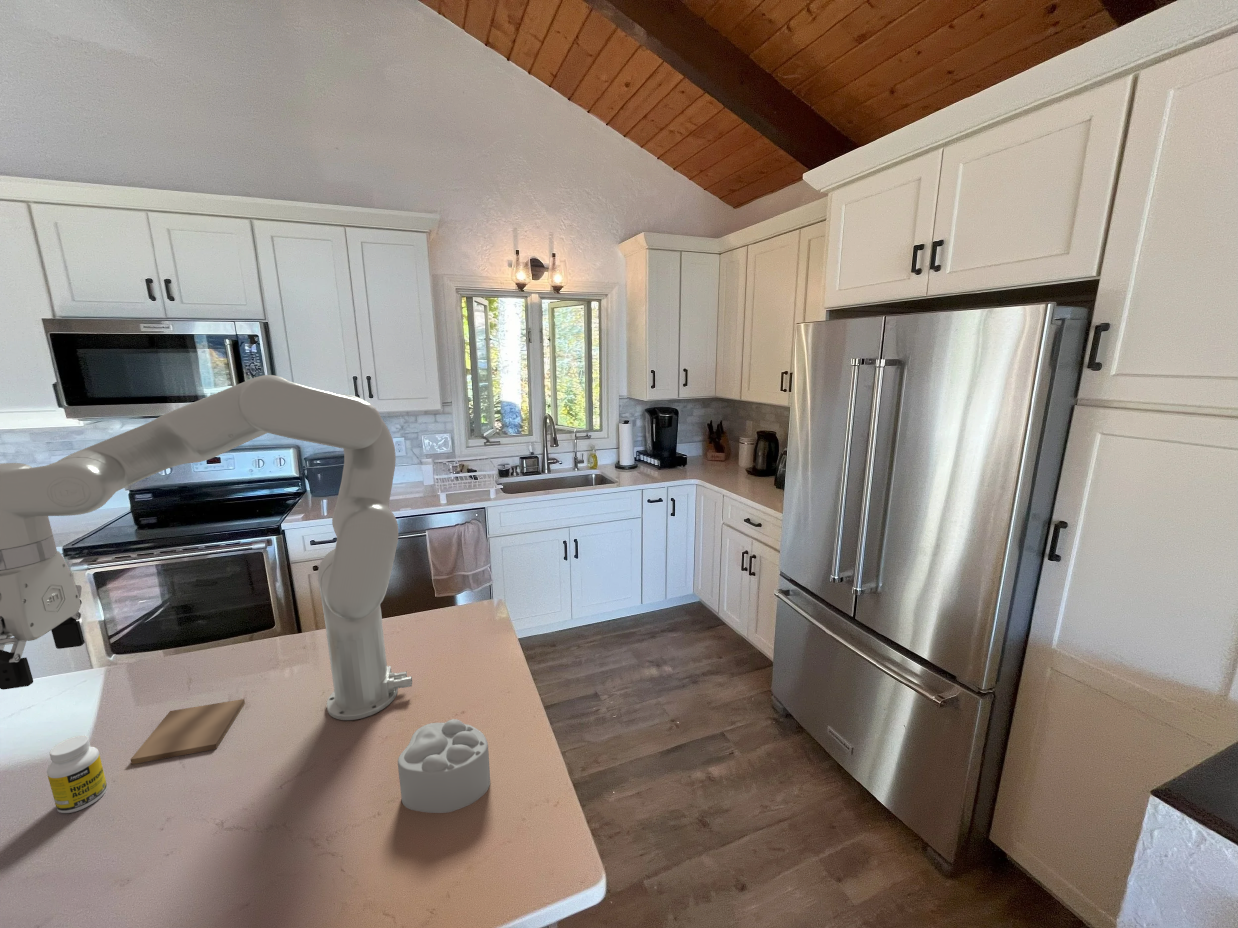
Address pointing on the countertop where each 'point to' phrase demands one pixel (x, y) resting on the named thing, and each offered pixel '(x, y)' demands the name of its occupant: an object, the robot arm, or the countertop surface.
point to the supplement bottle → (75, 774)
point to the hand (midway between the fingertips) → (45, 665)
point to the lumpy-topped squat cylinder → (444, 767)
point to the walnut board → (189, 731)
